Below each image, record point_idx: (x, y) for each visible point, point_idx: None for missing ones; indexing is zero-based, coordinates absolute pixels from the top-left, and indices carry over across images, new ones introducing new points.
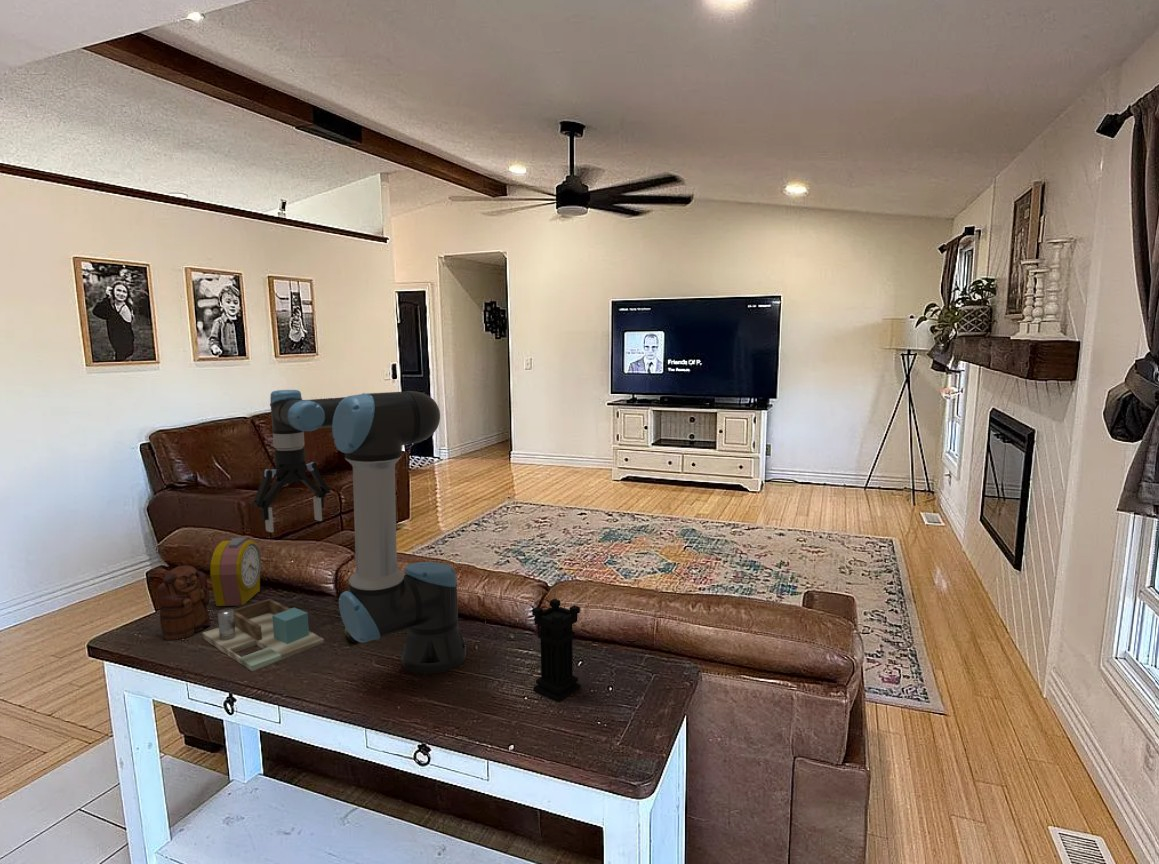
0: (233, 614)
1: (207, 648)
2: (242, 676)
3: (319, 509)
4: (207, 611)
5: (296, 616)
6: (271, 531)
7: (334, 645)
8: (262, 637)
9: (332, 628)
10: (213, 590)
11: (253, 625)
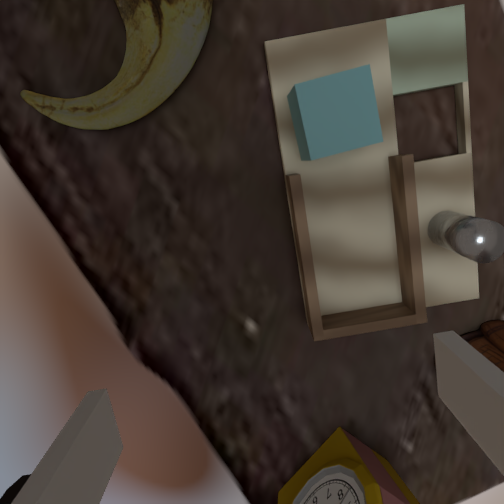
0: (461, 230)
1: None
2: (479, 5)
3: (66, 448)
4: None
5: (331, 78)
6: (452, 333)
7: (244, 20)
8: (383, 167)
9: (212, 134)
10: (408, 489)
11: (414, 176)
